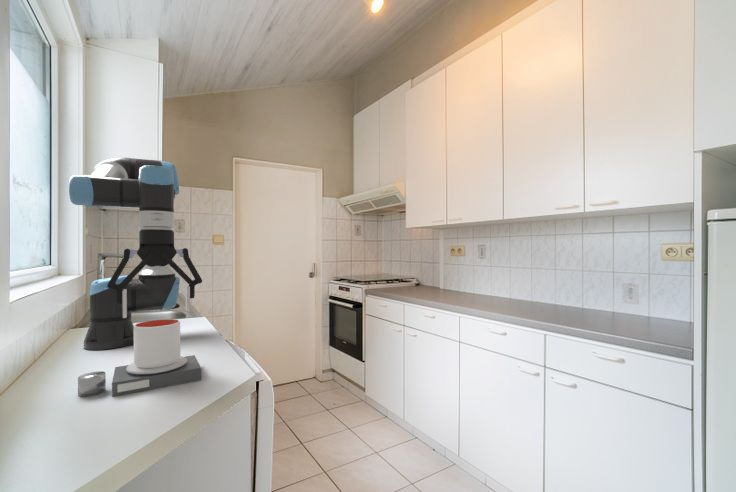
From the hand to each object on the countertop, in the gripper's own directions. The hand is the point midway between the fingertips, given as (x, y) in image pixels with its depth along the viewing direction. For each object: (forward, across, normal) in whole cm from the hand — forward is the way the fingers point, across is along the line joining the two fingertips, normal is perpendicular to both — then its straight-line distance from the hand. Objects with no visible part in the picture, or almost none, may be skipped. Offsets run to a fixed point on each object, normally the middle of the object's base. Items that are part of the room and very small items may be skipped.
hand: (157, 314), depth 90 cm
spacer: (+16, -13, -2) cm, 21 cm away
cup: (+12, 0, -1) cm, 12 cm away
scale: (+16, 0, -1) cm, 16 cm away
